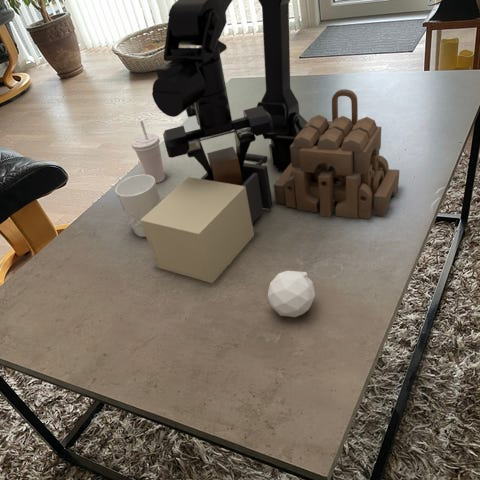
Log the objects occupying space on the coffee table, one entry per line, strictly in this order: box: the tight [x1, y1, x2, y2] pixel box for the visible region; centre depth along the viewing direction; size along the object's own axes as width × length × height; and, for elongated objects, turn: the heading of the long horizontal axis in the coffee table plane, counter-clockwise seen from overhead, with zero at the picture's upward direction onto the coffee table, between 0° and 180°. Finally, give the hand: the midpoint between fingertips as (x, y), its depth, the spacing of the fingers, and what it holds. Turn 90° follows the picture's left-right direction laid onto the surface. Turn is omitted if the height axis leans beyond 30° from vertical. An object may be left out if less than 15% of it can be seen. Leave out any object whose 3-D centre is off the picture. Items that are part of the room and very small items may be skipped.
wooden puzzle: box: [273, 88, 400, 220], centre depth 91 cm, size 22×15×19 cm, turn 63°
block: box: [206, 146, 243, 185], centre depth 90 cm, size 5×5×5 cm
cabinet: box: [140, 176, 255, 284], centre depth 88 cm, size 15×13×11 cm
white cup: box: [114, 173, 162, 238], centre depth 97 cm, size 8×8×10 cm
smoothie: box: [131, 120, 166, 184], centre depth 110 cm, size 6×6×14 cm
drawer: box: [200, 152, 274, 224], centre depth 94 cm, size 18×11×9 cm, turn 148°
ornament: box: [267, 270, 316, 318], centre depth 74 cm, size 7×7×8 cm
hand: (226, 175), depth 91 cm, fingers closed on block, 5 cm apart
